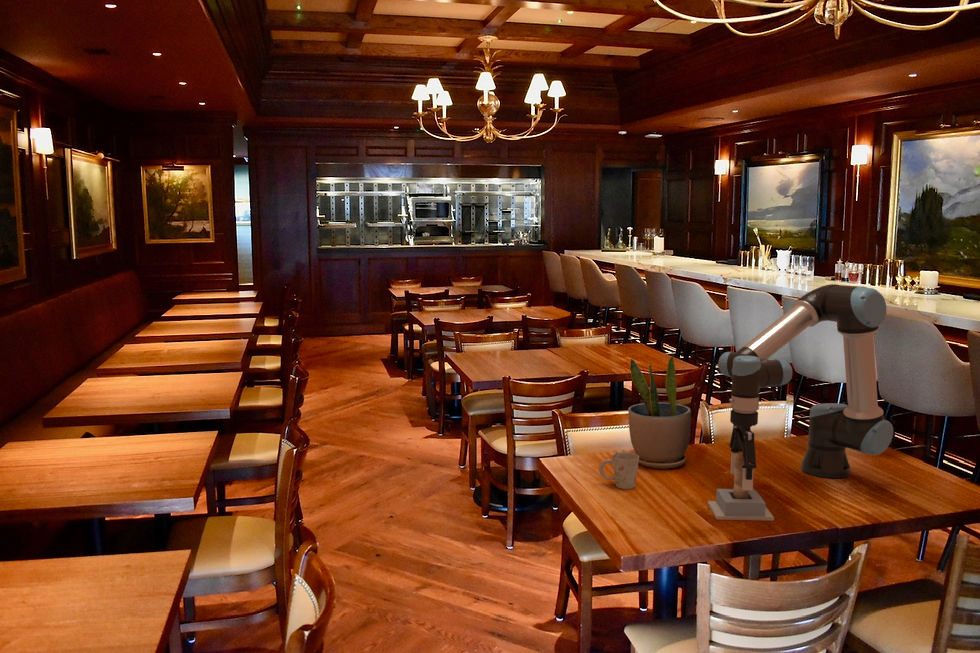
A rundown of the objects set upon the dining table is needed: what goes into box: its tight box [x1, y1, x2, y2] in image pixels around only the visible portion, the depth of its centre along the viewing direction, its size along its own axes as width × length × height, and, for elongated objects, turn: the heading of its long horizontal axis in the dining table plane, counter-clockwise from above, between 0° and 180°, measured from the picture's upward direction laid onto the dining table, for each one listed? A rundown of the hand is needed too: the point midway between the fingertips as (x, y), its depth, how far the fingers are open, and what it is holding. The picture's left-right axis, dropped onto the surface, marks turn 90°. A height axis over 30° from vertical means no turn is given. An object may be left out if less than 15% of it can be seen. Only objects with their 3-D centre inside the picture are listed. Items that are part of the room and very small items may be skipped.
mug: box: [598, 451, 639, 490], centre depth 253 cm, size 8×13×10 cm, turn 78°
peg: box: [733, 453, 748, 499], centre depth 230 cm, size 4×4×16 cm
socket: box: [707, 488, 775, 522], centre depth 231 cm, size 16×12×5 cm
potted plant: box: [627, 354, 692, 470], centre depth 274 cm, size 21×22×40 cm
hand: (741, 481), depth 230 cm, fingers open, 13 cm apart
